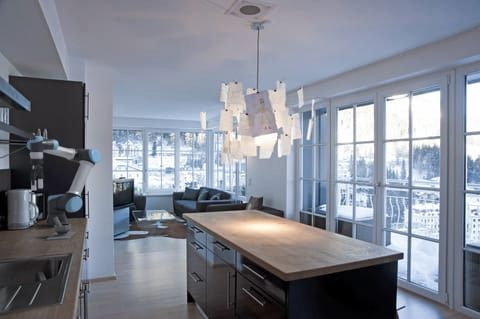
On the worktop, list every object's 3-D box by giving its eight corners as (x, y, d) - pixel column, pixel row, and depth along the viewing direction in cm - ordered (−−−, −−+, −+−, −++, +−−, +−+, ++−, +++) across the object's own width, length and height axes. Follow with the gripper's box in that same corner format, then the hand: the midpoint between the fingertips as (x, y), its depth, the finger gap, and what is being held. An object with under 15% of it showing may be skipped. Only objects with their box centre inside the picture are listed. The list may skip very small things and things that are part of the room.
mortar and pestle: (73, 233, 224) (73, 215, 224) (65, 236, 214) (65, 218, 214) (58, 233, 225) (58, 215, 225) (48, 236, 215) (48, 218, 215)
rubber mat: (54, 233, 227) (54, 232, 227) (75, 232, 231) (75, 231, 231) (45, 240, 208) (45, 239, 208) (68, 238, 211) (68, 238, 211)
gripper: (36, 158, 239) (37, 187, 239) (23, 158, 214) (24, 191, 215) (48, 158, 241) (48, 187, 241) (36, 158, 216) (37, 190, 217)
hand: (37, 189), depth 228 cm, fingers open, 13 cm apart
